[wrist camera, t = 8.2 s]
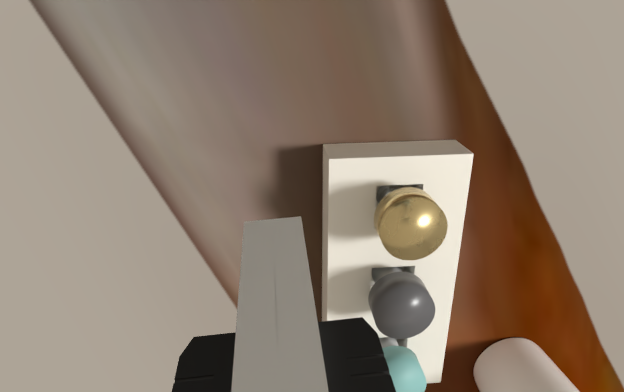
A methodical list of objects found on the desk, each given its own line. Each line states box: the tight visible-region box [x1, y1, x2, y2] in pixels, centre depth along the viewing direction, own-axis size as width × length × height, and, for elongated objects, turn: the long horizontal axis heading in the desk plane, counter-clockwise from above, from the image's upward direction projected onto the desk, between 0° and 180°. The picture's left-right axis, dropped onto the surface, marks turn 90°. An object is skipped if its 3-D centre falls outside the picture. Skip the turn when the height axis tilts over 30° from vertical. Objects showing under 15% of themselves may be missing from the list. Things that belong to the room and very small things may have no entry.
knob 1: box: [374, 185, 448, 260], centre depth 38 cm, size 5×5×7 cm
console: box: [322, 140, 474, 383], centre depth 44 cm, size 25×12×4 cm, turn 0°
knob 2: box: [379, 337, 427, 392], centre depth 45 cm, size 5×5×7 cm
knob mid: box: [368, 267, 435, 339], centre depth 42 cm, size 5×5×7 cm
